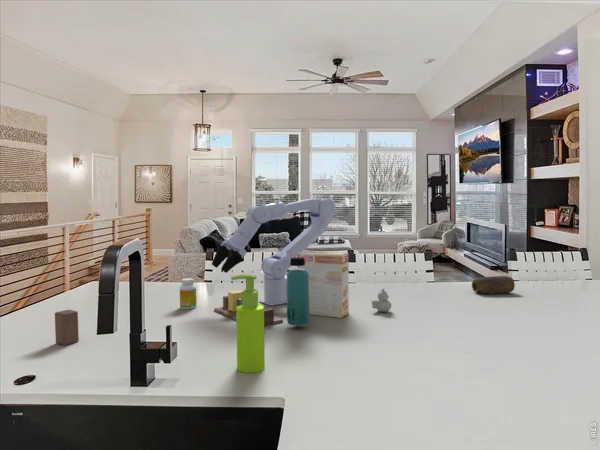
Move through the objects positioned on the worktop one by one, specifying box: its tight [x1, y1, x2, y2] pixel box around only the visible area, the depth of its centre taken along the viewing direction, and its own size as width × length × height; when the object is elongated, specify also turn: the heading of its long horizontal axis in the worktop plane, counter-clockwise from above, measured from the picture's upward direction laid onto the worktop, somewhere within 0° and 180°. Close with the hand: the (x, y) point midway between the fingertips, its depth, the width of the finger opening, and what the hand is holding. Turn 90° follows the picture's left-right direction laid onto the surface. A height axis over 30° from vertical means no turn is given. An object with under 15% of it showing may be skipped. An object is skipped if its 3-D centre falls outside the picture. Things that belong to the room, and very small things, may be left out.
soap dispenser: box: [230, 274, 266, 374], centre depth 92 cm, size 6×7×20 cm
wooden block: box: [54, 309, 80, 346], centre depth 110 cm, size 4×4×8 cm
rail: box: [213, 295, 284, 327], centre depth 135 cm, size 25×10×4 cm, turn 37°
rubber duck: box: [371, 287, 392, 313], centre depth 140 cm, size 5×7×8 cm
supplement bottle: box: [179, 277, 197, 310], centre depth 146 cm, size 5×5×10 cm
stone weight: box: [471, 275, 515, 294], centre depth 167 cm, size 15×7×7 cm, turn 98°
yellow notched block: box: [227, 289, 244, 312], centre depth 139 cm, size 3×6×6 cm, turn 127°
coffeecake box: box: [297, 250, 350, 319], centre depth 138 cm, size 15×7×20 cm, turn 65°
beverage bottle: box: [286, 256, 310, 327], centre depth 122 cm, size 6×7×20 cm
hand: (218, 268), depth 143 cm, fingers open, 7 cm apart
